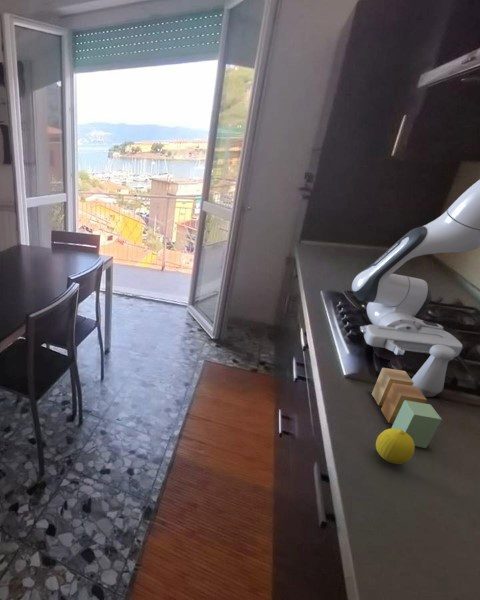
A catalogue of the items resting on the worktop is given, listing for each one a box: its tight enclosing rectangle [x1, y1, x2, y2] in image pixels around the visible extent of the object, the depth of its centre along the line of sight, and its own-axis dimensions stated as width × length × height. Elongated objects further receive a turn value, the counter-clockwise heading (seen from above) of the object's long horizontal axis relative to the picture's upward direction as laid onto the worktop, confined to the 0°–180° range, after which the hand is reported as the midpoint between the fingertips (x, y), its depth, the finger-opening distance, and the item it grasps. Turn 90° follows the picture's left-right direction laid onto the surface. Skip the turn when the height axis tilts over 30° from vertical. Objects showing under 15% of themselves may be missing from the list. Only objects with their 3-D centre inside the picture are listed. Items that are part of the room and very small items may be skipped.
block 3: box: [391, 400, 443, 449], centre depth 75 cm, size 4×4×8 cm
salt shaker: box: [411, 345, 455, 398], centre depth 87 cm, size 6×6×13 cm
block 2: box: [380, 383, 428, 425], centre depth 80 cm, size 4×4×8 cm
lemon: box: [375, 428, 416, 465], centre depth 70 cm, size 6×6×8 cm
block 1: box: [371, 367, 414, 407], centre depth 85 cm, size 4×4×8 cm
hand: (423, 356), depth 91 cm, fingers open, 8 cm apart
